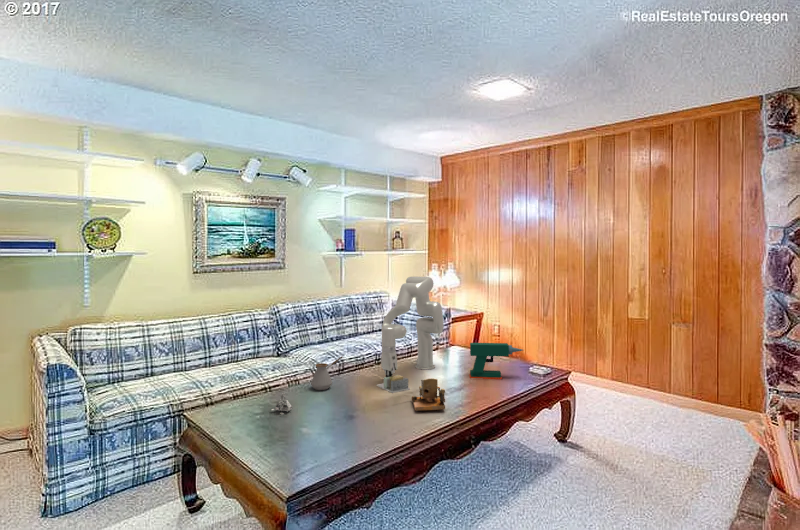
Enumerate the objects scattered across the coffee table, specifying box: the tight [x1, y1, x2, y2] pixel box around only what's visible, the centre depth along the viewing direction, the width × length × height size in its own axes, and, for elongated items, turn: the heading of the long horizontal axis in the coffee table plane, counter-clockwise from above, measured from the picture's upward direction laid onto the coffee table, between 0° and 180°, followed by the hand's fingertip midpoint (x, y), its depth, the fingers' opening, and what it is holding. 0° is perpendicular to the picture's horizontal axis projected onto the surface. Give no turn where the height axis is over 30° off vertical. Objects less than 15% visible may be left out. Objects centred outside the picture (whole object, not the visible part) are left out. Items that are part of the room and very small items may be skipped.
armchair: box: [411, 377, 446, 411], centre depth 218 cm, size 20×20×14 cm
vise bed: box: [376, 377, 410, 394], centre depth 246 cm, size 16×11×6 cm
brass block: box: [390, 374, 404, 388], centre depth 243 cm, size 4×6×6 cm, turn 125°
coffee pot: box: [310, 356, 345, 391], centre depth 249 cm, size 21×12×15 cm, turn 138°
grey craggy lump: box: [271, 392, 293, 415], centre depth 211 cm, size 9×9×8 cm
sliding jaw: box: [383, 374, 402, 388], centre depth 246 cm, size 3×10×5 cm, turn 125°
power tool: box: [468, 342, 524, 380], centre depth 266 cm, size 32×7×20 cm, turn 84°
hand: (388, 382), depth 249 cm, fingers closed
